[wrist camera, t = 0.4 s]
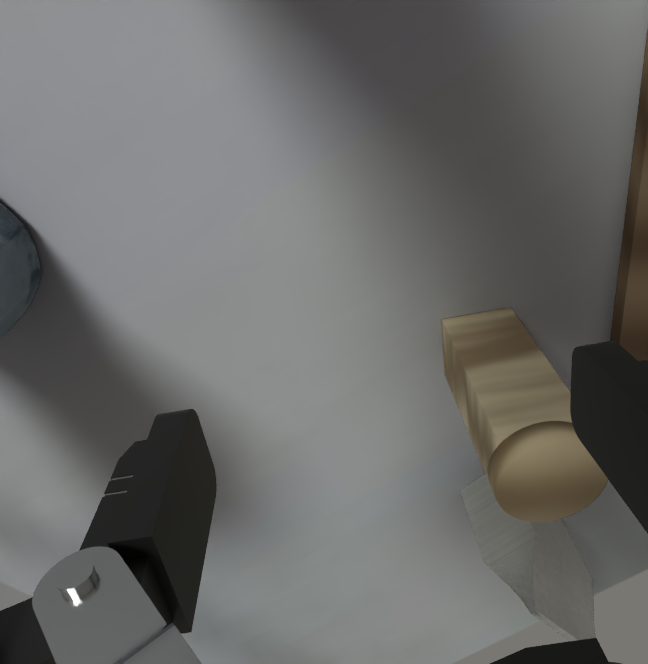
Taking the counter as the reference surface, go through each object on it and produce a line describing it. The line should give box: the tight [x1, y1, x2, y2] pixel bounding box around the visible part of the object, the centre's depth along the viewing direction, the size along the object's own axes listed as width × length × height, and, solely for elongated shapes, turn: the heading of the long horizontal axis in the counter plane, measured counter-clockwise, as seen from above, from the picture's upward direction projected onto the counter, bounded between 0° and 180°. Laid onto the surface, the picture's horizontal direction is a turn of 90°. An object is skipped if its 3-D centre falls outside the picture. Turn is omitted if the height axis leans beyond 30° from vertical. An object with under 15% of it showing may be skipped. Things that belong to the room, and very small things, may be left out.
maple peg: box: [441, 308, 608, 522], centre depth 29 cm, size 5×5×11 cm
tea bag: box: [460, 474, 596, 641], centre depth 37 cm, size 4×7×10 cm, turn 45°
